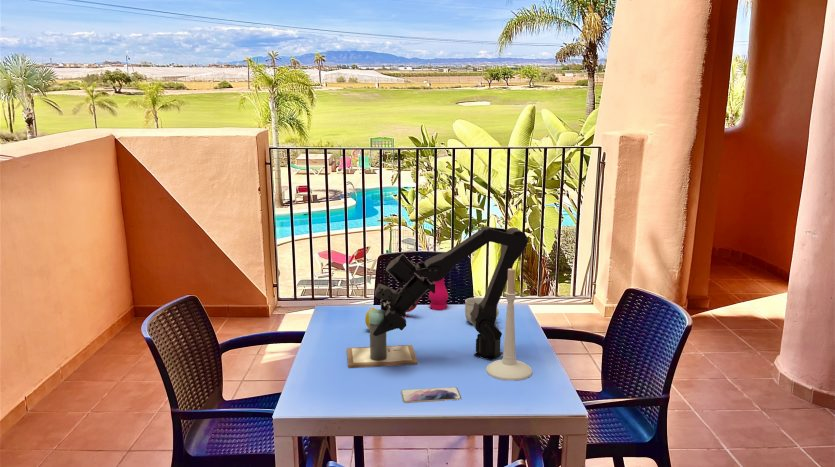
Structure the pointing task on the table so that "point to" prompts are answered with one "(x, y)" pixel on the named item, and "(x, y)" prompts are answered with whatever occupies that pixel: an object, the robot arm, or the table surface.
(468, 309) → the teacup
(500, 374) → the candlestick
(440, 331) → the table surface
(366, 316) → the lemon
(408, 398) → the smartphone
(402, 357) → the writing board
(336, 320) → the table surface
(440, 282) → the pepper mill
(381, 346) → the canister
